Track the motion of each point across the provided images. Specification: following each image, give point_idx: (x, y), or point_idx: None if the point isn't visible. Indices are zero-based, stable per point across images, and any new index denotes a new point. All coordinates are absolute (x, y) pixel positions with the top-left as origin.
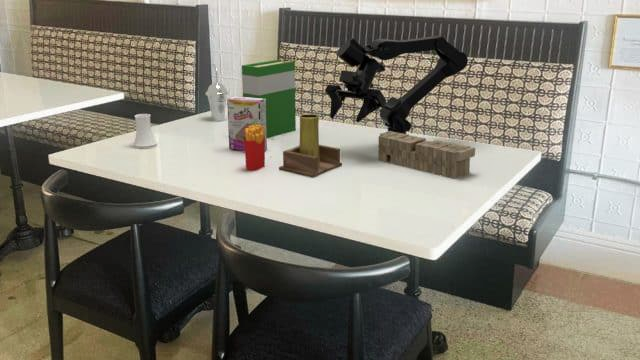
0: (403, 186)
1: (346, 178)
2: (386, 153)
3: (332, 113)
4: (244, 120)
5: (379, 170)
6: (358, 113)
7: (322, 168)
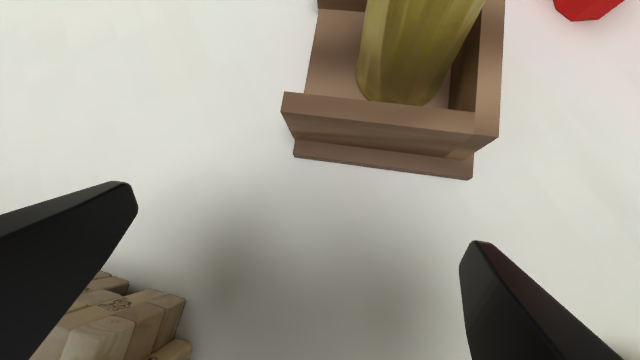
0: (35, 58)
1: (221, 39)
2: (118, 296)
3: (488, 277)
4: None
5: (144, 170)
6: (38, 220)
7: (328, 56)
